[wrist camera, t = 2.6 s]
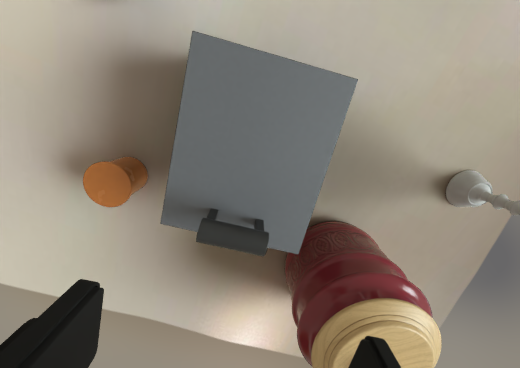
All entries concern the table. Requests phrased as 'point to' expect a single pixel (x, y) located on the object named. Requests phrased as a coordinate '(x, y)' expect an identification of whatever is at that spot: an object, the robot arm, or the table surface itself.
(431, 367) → the kitchen canister
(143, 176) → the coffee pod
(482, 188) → the chalice
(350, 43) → the table surface
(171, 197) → the lid
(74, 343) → the robot arm
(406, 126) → the table surface
